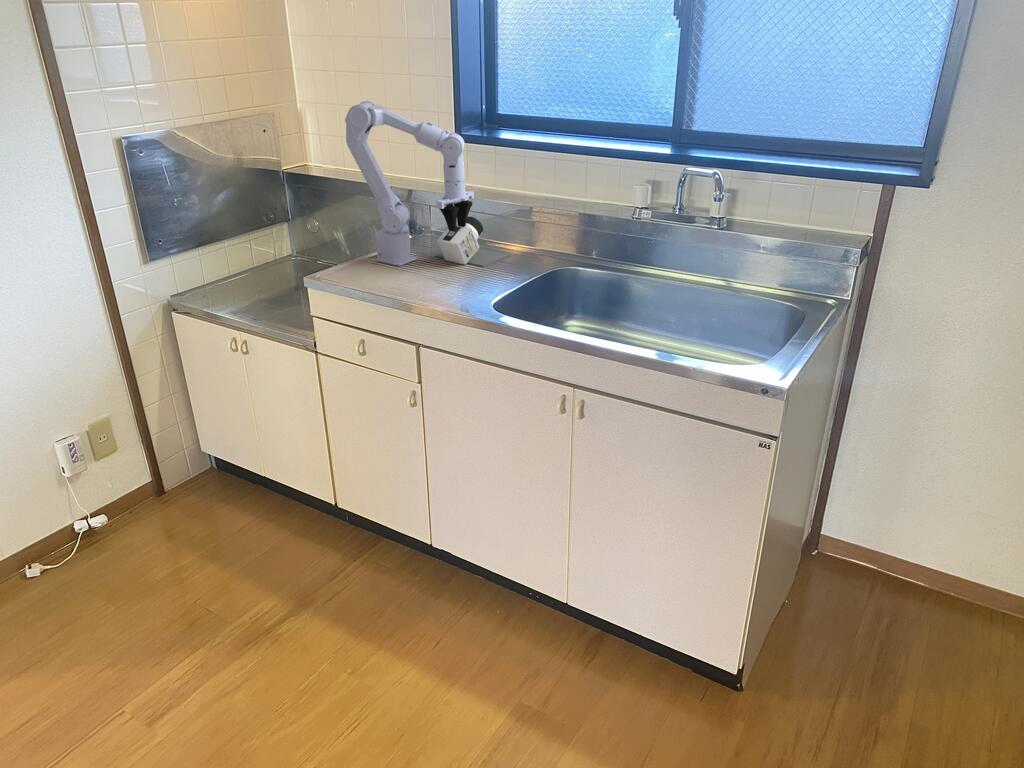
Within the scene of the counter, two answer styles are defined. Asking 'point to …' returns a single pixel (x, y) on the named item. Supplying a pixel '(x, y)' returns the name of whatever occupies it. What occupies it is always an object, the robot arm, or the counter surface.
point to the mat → (483, 257)
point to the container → (461, 241)
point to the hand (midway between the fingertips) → (456, 228)
